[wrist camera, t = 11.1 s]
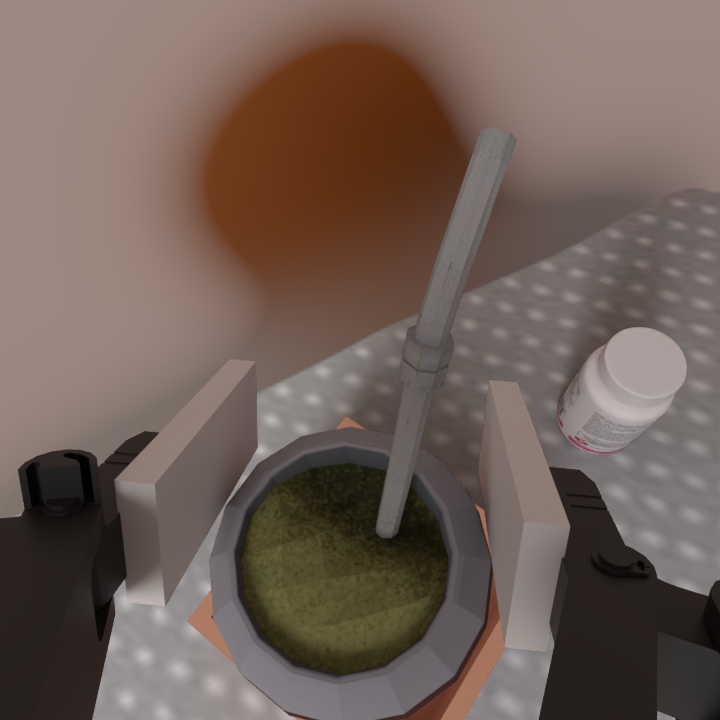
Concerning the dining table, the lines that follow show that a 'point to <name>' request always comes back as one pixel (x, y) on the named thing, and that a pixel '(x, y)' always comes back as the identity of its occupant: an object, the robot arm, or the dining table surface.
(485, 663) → the box
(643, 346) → the pill bottle
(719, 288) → the dining table surface
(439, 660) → the mate gourd
